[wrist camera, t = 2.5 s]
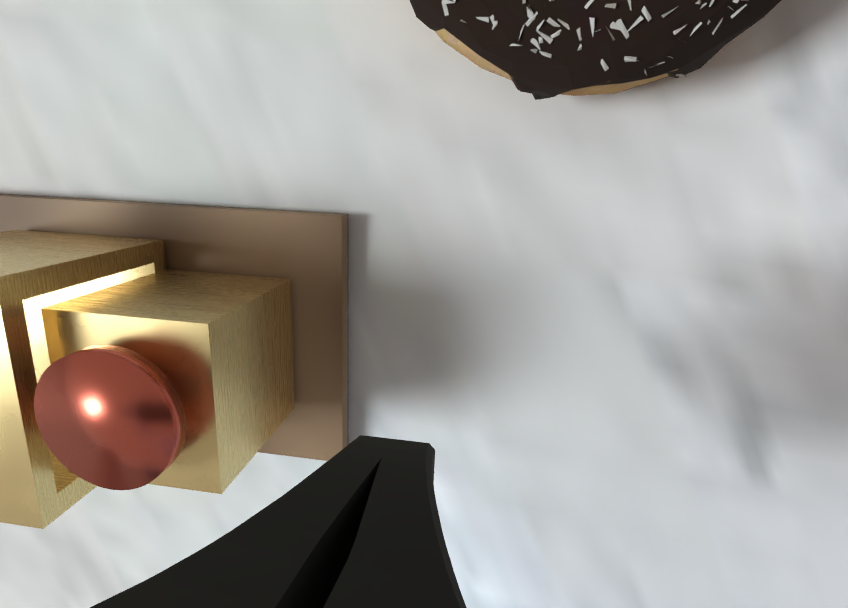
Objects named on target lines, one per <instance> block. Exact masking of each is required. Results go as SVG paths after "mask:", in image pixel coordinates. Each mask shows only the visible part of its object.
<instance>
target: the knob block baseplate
mask: <svg viewBox="0 0 848 608" xmlns="http://www.w3.org/2000/svg"><path fill="white" fill-rule="evenodd" d="M12 230H25V231H39V232H54V233H68V234H83V235H98V236H112V237H127V238H141V239H156V240H163V246H164V256H165V266H166V269H168V270H181V271H194V272H207V273H220V274H233V275H246V276H259V277H272V278H284V279H291V303H292V335H293V368H294V400H295V408H294V409H293V411H292V412H291V413H290V414H289V415H288V416H287V418H286V419H285V420H284V421H283V422H282V424H281V425H280V426H279V427H278V428H277V429H276V431H275V432H274V433H273V434H272V435H271V436H270V438H269V439H268V440H267V441H266V442H265V443H264V445H263V446H262V447H261V448H260V449H259V450H258V452H262V453H270V454H278V455H286V456H293V457H301V458H309V459H317V460H325V461H328V460H330V459H331V458H332V457H333V456H335V455H336V454H337V453H339V452H340V451H341V450H342V449H344V448H345V447H346V446H347V445H348V214H336V213H319V212H302V211H285V210H267V209H250V208H233V207H216V206H199V205H182V204H165V203H148V202H131V201H113V200H96V199H79V198H62V197H45V196H28V195H11V194H0V232H4V231H12Z"/></svg>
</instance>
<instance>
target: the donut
mask: <svg viewBox="0 0 848 608" xmlns="http://www.w3.org/2000/svg"><path fill="white" fill-rule="evenodd" d="M780 1H781V0H410V2H411V5H412V7H413V9H414V12H415V14H416V17H417V18H418V19H420V20H421V21H422V22H423V23H424V24H425V25H426V26H428V27H429V28H430V29H432V30H434V31H435V32H436V33H437V34H438V35H439V36H440V38H441V39H442V40H443V41H444V42H445V43H447V44H448V45H449V46H451V47H452V48H454V49H455V50H456V51H458V52H459V53H461V54H462V55H464V56H465V57H466V58H468V59H469V60H471V61H472V62H474V63H475V64H476V65H478V66H479V67H481V68H483V69H485V70H488V71H490V72H493V73H495V74H498V75H500V76H503V77H505V78H508V79H510V80H512V81H513V82H514V84H515V86H516V88H517V89H518V90H520V91H521V92H527V93H532V94H533V96H534V98H535V100H536V99H544V98H550V97H554V96H556V95H558V94H563V95H573V96H577V95H593V94H609V93H617V92H620V91H623V90H627V89H630V88H633V87H636V86H639V85H642V84H646V83H649V82H652V81H655V80H658V79H661V78H665V77H668V76H671V77H675V78H678V77H686V75H685V74H687V73H690V72H692V71H694V70H697V69H699V68H701V67H702V66H703V65H704V64H705V63H706V62H707V61H708V60H709V59H710V58H712V57H713V56H714V55H715V54H716V53H717V52H718V51H719V50H720V49H721V48H722V47H723V46H724V45H725V44H727V43H728V42H730V41H731V40H732V39H734V38H735V37H737V36H738V35H739V34H741V33H742V32H744V31H745V30H746V29H748V28H749V27H750V26H752V25H753V24H755V23H756V22H757V21H759V20H760V19H762V18H763V17H764V16H765V15H766V14H767V13H768V12H769V11H770V10H772V9H773V8H774V7H775V6H776V5H777V4H778V3H779V2H780Z"/></svg>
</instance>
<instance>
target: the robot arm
mask: <svg viewBox="0 0 848 608" xmlns="http://www.w3.org/2000/svg"><path fill="white" fill-rule="evenodd" d="M434 461H435V450H434V448H433V447H432V446H431V445H430V444H429V443H422V442H414V441H405V440H396V439H388V438H379V437H371V436H362V435H361V436H359V437H358V438H357V439H355V440H354V441H353V442H351V443H350V444H349V445H347V446H346V447H345V448H344V449H342V450H341V451H340V452H339V453H337V454H336V455H335V456H333V457H332V458H331V459H330V460H328V461H327V462H326V463H325V464H323V465H322V466H321V467H320V468H318V469H317V470H316V471H315V472H313V473H312V474H311V475H309V476H308V477H307V478H305V479H304V480H303V481H302V482H300V483H299V484H298V485H296V486H295V487H294V488H292V489H291V490H290V491H288V492H287V493H286V494H284V495H283V496H282V497H280V498H279V499H277V500H276V501H274V502H273V503H271V504H270V505H269V506H267V507H266V508H264V509H263V510H261V511H260V512H258V513H257V514H255V515H254V516H252V517H251V518H249V519H248V520H247V521H245V522H244V523H242V524H241V525H239V526H238V527H236V528H235V529H233V530H232V531H230V532H229V533H227V534H226V535H224V536H222V537H221V538H219V539H218V540H216V541H214V542H213V543H211V544H209V545H208V546H206V547H204V548H203V549H201V550H199V551H198V552H196V553H194V554H192V555H191V556H189V557H187V558H185V559H184V560H182V561H180V562H178V563H176V564H175V565H173V566H171V567H169V568H168V569H166V570H164V571H162V572H160V573H159V574H157V575H155V576H153V577H151V578H149V579H147V580H145V581H144V582H141V583H139V584H137V585H135V586H133V587H131V588H129V589H127V590H125V591H123V592H121V593H119V594H117V595H115V596H113V597H111V598H109V599H107V600H105V601H103V602H100V603H98V604H96V605H94V606H92V607H90V608H466V605H465V603H464V600H463V597H462V594H461V592H460V589H459V586H458V583H457V580H456V577H455V574H454V571H453V568H452V564H451V561H450V558H449V554H448V551H447V548H446V544H445V540H444V536H443V533H442V528H441V524H440V519H439V514H438V510H437V505H436V500H435V494H434V485H433V480H434Z"/></svg>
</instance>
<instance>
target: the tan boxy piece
mask: <svg viewBox="0 0 848 608" xmlns="http://www.w3.org/2000/svg"><path fill="white" fill-rule="evenodd" d="M294 408H295V400H294V368H293V335H292V303H291V279H284V278H272V277H259V276H246V275H233V274H220V273H207V272H194V271H181V270H168V269H166V266H165V256H164V246H163V240H156V239H141V238H127V237H112V236H98V235H83V234H68V233H54V232H39V231H25V230H12V231H4V232H0V522H3V523H9V524H15V525H22V526H28V527H35V528H41V529H44V528H45V527H46V526H47V525H49V524H50V523H51V522H52V521H54V520H55V519H56V518H58V517H59V516H60V515H61V514H63V513H64V512H65V511H66V510H68V509H69V508H70V507H71V506H73V505H74V504H75V503H76V502H78V501H79V500H80V499H81V498H83V497H84V496H85V495H86V494H88V493H89V492H90V491H91V490H93V489H94V488H95V487H97V486H100V487H103V488H107V489H113V490H130V489H135V488H139V487H142V486H144V485H146V484H153V485H160V486H168V487H175V488H182V489H189V490H196V491H204V492H211V493H218V494H222V493H223V492H224V490H225V489H226V488H227V487H228V486H229V484H230V483H231V482H232V481H233V480H234V479H235V477H236V476H237V475H238V474H239V473H240V472H241V470H242V469H243V468H244V467H245V466H246V465H247V463H248V462H249V461H250V460H251V459H252V458H253V456H254V455H255V454H256V453H257V452H258V450H259V449H260V448H261V447H262V446H263V445H264V443H265V442H266V441H267V440H268V439H269V438H270V436H271V435H272V434H273V433H274V432H275V431H276V429H277V428H278V427H279V426H280V425H281V424H282V422H283V421H284V420H285V419H286V418H287V416H288V415H289V414H290V413H291V412H292V411H293V409H294Z"/></svg>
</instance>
